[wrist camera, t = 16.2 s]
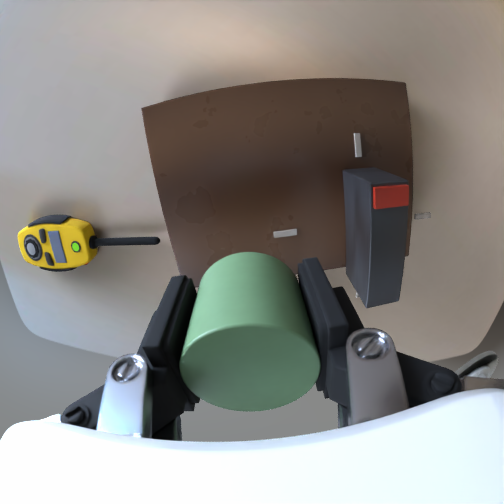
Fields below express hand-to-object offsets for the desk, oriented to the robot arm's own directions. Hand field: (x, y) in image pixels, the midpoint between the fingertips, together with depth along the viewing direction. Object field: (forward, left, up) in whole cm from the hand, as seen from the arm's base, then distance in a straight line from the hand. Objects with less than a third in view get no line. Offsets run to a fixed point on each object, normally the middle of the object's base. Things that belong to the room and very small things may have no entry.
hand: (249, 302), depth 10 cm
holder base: (+2, -4, -10) cm, 11 cm away
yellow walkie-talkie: (+1, +14, -10) cm, 17 cm away
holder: (0, -7, -7) cm, 10 cm away
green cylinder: (0, 0, 0) cm, 0 cm away
